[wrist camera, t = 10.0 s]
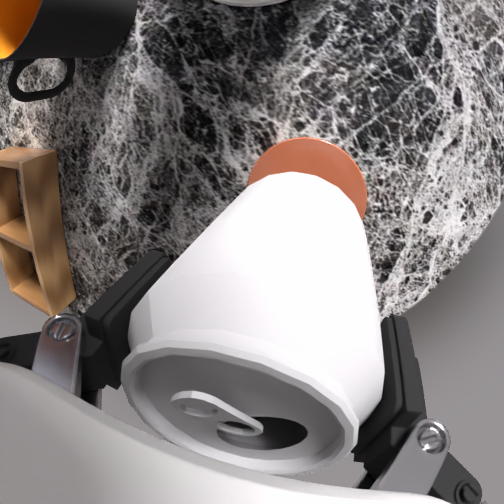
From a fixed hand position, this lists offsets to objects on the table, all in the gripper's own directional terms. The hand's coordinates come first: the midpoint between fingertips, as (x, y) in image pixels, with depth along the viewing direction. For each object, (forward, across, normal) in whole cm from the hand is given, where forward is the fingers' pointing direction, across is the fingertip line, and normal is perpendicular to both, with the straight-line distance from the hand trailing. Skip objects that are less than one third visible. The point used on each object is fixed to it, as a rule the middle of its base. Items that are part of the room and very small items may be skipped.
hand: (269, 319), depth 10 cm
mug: (+14, +21, -12) cm, 28 cm away
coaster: (+14, 0, 0) cm, 14 cm away
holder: (+14, +31, +10) cm, 35 cm away
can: (+7, 0, 0) cm, 7 cm away
